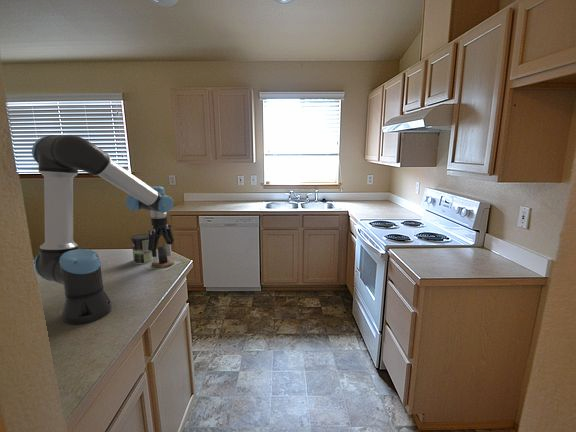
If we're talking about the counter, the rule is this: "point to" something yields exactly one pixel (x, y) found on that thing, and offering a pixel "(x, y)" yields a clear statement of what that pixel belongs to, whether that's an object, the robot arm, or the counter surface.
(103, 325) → the counter surface
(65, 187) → the robot arm
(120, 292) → the counter surface
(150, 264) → the mat
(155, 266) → the lid
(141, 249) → the coffee can
